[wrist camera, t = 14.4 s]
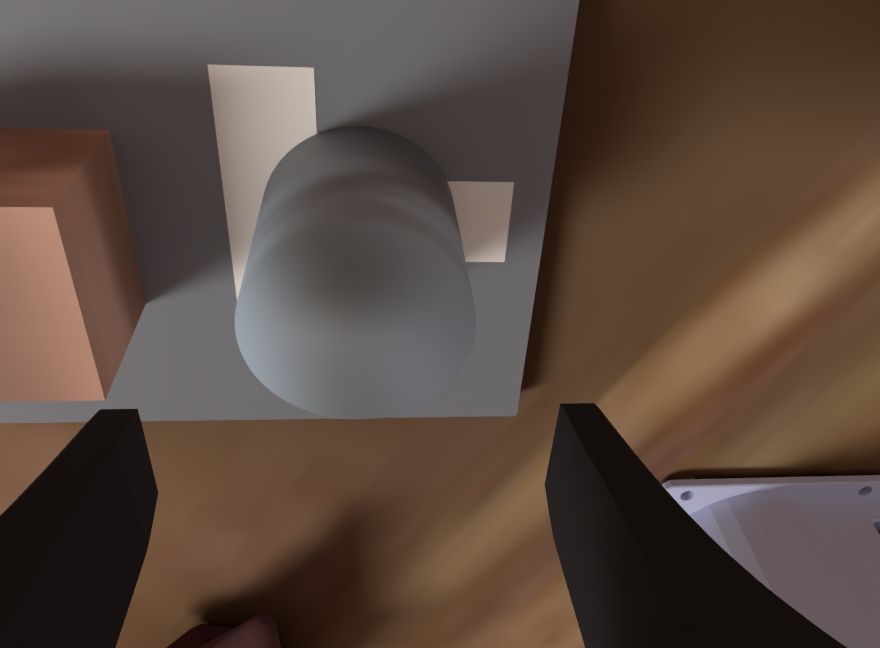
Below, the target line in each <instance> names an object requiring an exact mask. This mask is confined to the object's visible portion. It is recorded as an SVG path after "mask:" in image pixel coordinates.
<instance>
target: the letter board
mask: <svg viewBox="0 0 880 648" xmlns="http://www.w3.org/2000/svg"><path fill="white" fill-rule="evenodd" d="M578 7H579V0H0V128H39V129H86V130H109V131H110V136H111V140H112V145H113V150H114V155H115V160H116V164H117V169H118V174H119V179H120V183H121V188H122V193H123V198H124V202H125V207H126V212H127V217H128V222H129V226H130V231H131V236H132V241H133V245H134V250H135V255H136V260H137V264H138V269H139V274H140V279H141V283H142V288H143V293H144V298H145V303H146V305H145V307H144V309H143V312H142V314H141V317H140V319H139V321H138V324H137V326H136V328H135V331H134V333H133V336H132V338H131V340H130V343H129V345H128V347H127V350H126V352H125V355H124V357H123V359H122V362H121V364H120V366H119V369H118V371H117V374H116V376H115V378H114V381H113V383H112V385H111V388H110V390H109V393H108V395H107V397H106V400H105V401H14V402H0V423H50V422H88V421H89V420H90V419H91V418H92V417H93V416H94V415H95V414H96V413H97V412H98V411H99V410H100V409H138V411H139V416H140V420H141V421H194V420H266V419H337V418H333V417H327V416H323V415H319V414H315V413H312V412H309V411H306V410H303V409H301V408H298V407H296V406H294V405H292V404H290V403H288V402H286V401H285V400H283V399H281V398H280V397H278V396H277V395H275V394H274V393H273V392H272V391H270V390H269V389H268V388H266V387H265V386H264V385H263V384H262V383H261V382H260V381H259V380H258V379H257V378H256V376H255V375H254V374H253V372H252V371H251V370H250V368H249V367H248V365H247V363H246V362H245V360H244V358H243V356H242V354H241V351H240V349H239V346H238V343H237V338H236V333H235V311H236V304H237V300H238V296H239V292H240V288H241V284H242V280H243V276H244V272H245V268H246V264H247V260H248V256H249V252H250V248H251V244H252V240H253V235H254V231H255V227H256V223H257V219H258V215H259V211H260V207H261V203H262V199H263V195H264V192H265V188H266V185H267V182H268V180H269V178H270V176H271V174H272V172H273V170H274V169H275V167H276V166H277V164H278V163H279V161H280V160H281V159H282V158H283V157H284V156H285V155H286V154H287V153H288V152H289V151H290V150H291V149H293V148H294V147H295V146H296V145H297V144H299V143H301V142H302V141H304V140H306V139H307V138H309V137H311V136H314V135H316V134H318V133H320V132H324V131H327V130H331V129H335V128H341V127H355V126H361V127H372V128H377V129H382V130H386V131H389V132H392V133H394V134H397V135H400V136H402V137H404V138H406V139H407V140H409V141H411V142H413V143H414V144H416V145H417V146H418V147H420V148H421V149H422V150H424V151H425V152H426V153H427V154H428V155H429V156H430V157H431V158H432V159H433V160H434V161H435V163H436V164H437V165H438V166H439V168H440V169H441V171H442V173H443V174H444V176H445V178H446V180H447V182H448V184H449V187H450V190H451V193H452V197H453V201H454V206H455V211H456V216H457V221H458V226H459V231H460V236H461V241H462V246H463V251H464V256H465V261H466V266H467V271H468V276H469V281H470V286H471V291H472V295H473V300H474V305H475V312H476V334H475V339H474V344H473V347H472V350H471V353H470V355H469V357H468V359H467V361H466V363H465V365H464V367H463V368H462V370H461V371H460V372H459V374H458V375H457V376H456V378H455V379H454V380H453V381H452V382H451V383H450V384H449V385H448V386H447V387H446V388H445V389H443V390H442V391H441V392H440V393H438V394H437V395H436V396H434V397H433V398H431V399H429V400H428V401H426V402H425V403H423V404H421V405H418V406H416V407H414V408H412V409H410V410H407V411H404V412H401V413H398V414H394V415H390V416H386V417H380V418H409V417H481V416H517V410H518V404H519V397H520V390H521V384H522V377H523V371H524V364H525V357H526V351H527V344H528V337H529V331H530V324H531V318H532V311H533V304H534V298H535V291H536V285H537V278H538V271H539V265H540V258H541V251H542V245H543V238H544V232H545V225H546V218H547V212H548V205H549V199H550V192H551V185H552V179H553V172H554V165H555V159H556V152H557V146H558V139H559V132H560V126H561V119H562V113H563V106H564V99H565V93H566V86H567V80H568V73H569V66H570V60H571V53H572V46H573V40H574V33H575V27H576V20H577V13H578Z"/></svg>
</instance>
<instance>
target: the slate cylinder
mask: <svg viewBox="0 0 880 648" xmlns="http://www.w3.org/2000/svg"><path fill="white" fill-rule="evenodd" d="M235 333H236V338H237V343H238V346H239V349H240V351H241V354H242V356H243V358H244V360H245V362H246V363H247V365H248V367H249V368H250V370H251V371H252V372H253V374H254V375H255V376H256V378H257V379H258V380H259V381H260V382H261V383H262V384H263V385H264V386H265V387H266V388H268V389H269V390H270V391H272V392H273V393H274V394H275V395H277V396H278V397H280V398H281V399H283V400H285V401H286V402H288V403H290V404H292V405H294V406H296V407H298V408H301V409H303V410H306V411H309V412H312V413H315V414H319V415H323V416H327V417H333V418H340V419H357V420H358V419H373V418H380V417H386V416H390V415H394V414H398V413H401V412H404V411H407V410H410V409H412V408H414V407H416V406H418V405H421V404H423V403H425V402H426V401H428V400H429V399H431V398H433V397H434V396H436V395H437V394H438V393H440V392H441V391H442V390H443V389H445V388H446V387H447V386H448V385H449V384H450V383H451V382H452V381H453V380H454V379H455V378H456V376H457V375H458V374H459V372H460V371H461V370H462V368H463V367H464V365H465V363H466V361H467V359H468V357H469V355H470V353H471V350H472V347H473V344H474V339H475V334H476V312H475V305H474V300H473V295H472V291H471V286H470V281H469V276H468V271H467V266H466V261H465V256H464V251H463V246H462V241H461V236H460V231H459V226H458V221H457V216H456V211H455V206H454V201H453V197H452V193H451V190H450V187H449V184H448V182H447V180H446V178H445V176H444V174H443V173H442V171H441V169H440V168H439V166H438V165H437V164H436V163H435V161H434V160H433V159H432V158H431V157H430V156H429V155H428V154H427V153H426V152H425V151H424V150H422V149H421V148H420V147H418V146H417V145H416V144H414V143H413V142H411V141H409V140H407V139H406V138H404V137H402V136H400V135H397V134H394V133H392V132H389V131H386V130H382V129H377V128H372V127H361V126H355V127H341V128H335V129H331V130H327V131H324V132H320V133H318V134H316V135H314V136H311V137H309V138H307V139H306V140H304V141H302V142H301V143H299V144H297V145H296V146H295V147H294V148H293V149H291V150H290V151H289V152H288V153H287V154H286V155H285V156H284V157H283V158H282V159H281V160H280V161H279V163H278V164H277V166H276V167H275V169H274V170H273V172H272V174H271V176H270V178H269V180H268V182H267V185H266V188H265V192H264V195H263V199H262V203H261V207H260V211H259V215H258V219H257V223H256V227H255V231H254V235H253V240H252V244H251V248H250V252H249V256H248V260H247V264H246V268H245V272H244V276H243V280H242V284H241V288H240V292H239V296H238V300H237V304H236V311H235Z"/></svg>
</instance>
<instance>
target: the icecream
mask: <svg viewBox="0 0 880 648" xmlns="http://www.w3.org/2000/svg"><path fill="white" fill-rule="evenodd" d="M167 648H285V647H283V646H282V645H281V644H280V640H279V635H278V631H277V627H276V623H275V621H274V618H273V617H272V615H271V614H269V613H267V612H265V613H261V614H259V615H257V616H254V617H253V618H251V619H249V620H248V621H246V622H244V623H242V624H241V625H239V626H237V627H233V626H224V625H216V624H201V625H199V626H197V627H195V628H192V629H190V630H189V631H187V632H186V633H185V634H183V635H182V636H181V637H180V638H178V639H177V640H176V641H174V642H173V643H172V644H171V645H169V646H168V647H167Z"/></svg>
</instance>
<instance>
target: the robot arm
mask: <svg viewBox="0 0 880 648" xmlns="http://www.w3.org/2000/svg"><path fill="white" fill-rule="evenodd" d="M545 489H546V495H547V502H548V508H549V515H550V520H551V526H552V532H553V538H554V541H555V545H556V548H557V552H558V555H559V559H560V562H561V566H562V569H563V573H564V576H565V580H566V583H567V587H568V590H569V593H570V597H571V600H572V604H573V607H574V610H575V614H576V617H577V621H578V624H579V628H580V631H581V634H582V638H583V641H584V645H585V648H880V475H858V476H813V477H769V478H724V479H679V480H669V481H666V482H664V483H663V484H662V485H661V483H660V482H659V481H658V480H657V479H656V478H655V477H654V475H653V474H652V473H651V472H650V471H649V470H648V468H647V467H646V466H645V465H644V464H643V463H642V461H641V460H640V459H639V458H638V456H637V455H636V454H635V453H634V452H633V450H632V449H631V448H630V447H629V445H628V444H627V443H626V442H625V440H624V439H623V438H622V437H621V435H620V434H619V433H618V432H617V430H616V429H615V428H614V427H613V425H612V424H611V423H610V422H609V420H608V419H607V418H606V416H605V415H604V414H603V413H602V411H601V410H600V409H599V408H598V407H597V406H596V405H595V404H594V403H581V404H560V409H559V414H558V419H557V424H556V429H555V434H554V439H553V445H552V450H551V455H550V460H549V465H548V470H547V476H546V481H545ZM157 496H158V490H157V486H156V482H155V478H154V474H153V469H152V465H151V461H150V457H149V453H148V449H147V445H146V440H145V436H144V432H143V428H142V424H141V420H140V416H139V411H138V409H100V410H99V411H98V412H97V413H96V414H95V415H94V416H93V417H92V418H91V419H90V420H89V421H88V422H87V423H86V424H85V426H84V427H83V428H82V429H81V430H80V431H79V432H78V433H77V435H76V436H75V437H74V438H73V439H72V440H71V441H70V442H69V443H68V445H67V446H66V447H65V448H64V449H63V450H62V451H61V452H60V453H59V455H58V456H57V457H56V458H55V459H54V460H53V461H52V462H51V463H50V464H49V465H48V467H47V468H46V469H45V470H44V471H43V472H42V473H41V474H40V475H39V476H38V477H37V478H36V479H35V480H34V481H33V483H32V484H31V485H30V486H29V487H28V488H27V489H26V490H25V491H24V492H23V493H22V494H21V495H20V496H19V497H18V498H17V499H16V500H15V501H14V502H13V503H12V504H11V505H10V507H9V508H8V509H7V510H6V511H5V512H4V513H3V514H2V515H1V516H0V648H115V647H116V644H117V641H118V638H119V635H120V632H121V629H122V626H123V623H124V620H125V617H126V614H127V611H128V608H129V605H130V602H131V599H132V596H133V593H134V589H135V586H136V583H137V580H138V577H139V574H140V571H141V568H142V565H143V561H144V558H145V555H146V552H147V548H148V544H149V539H150V534H151V529H152V524H153V518H154V513H155V507H156V502H157Z"/></svg>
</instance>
